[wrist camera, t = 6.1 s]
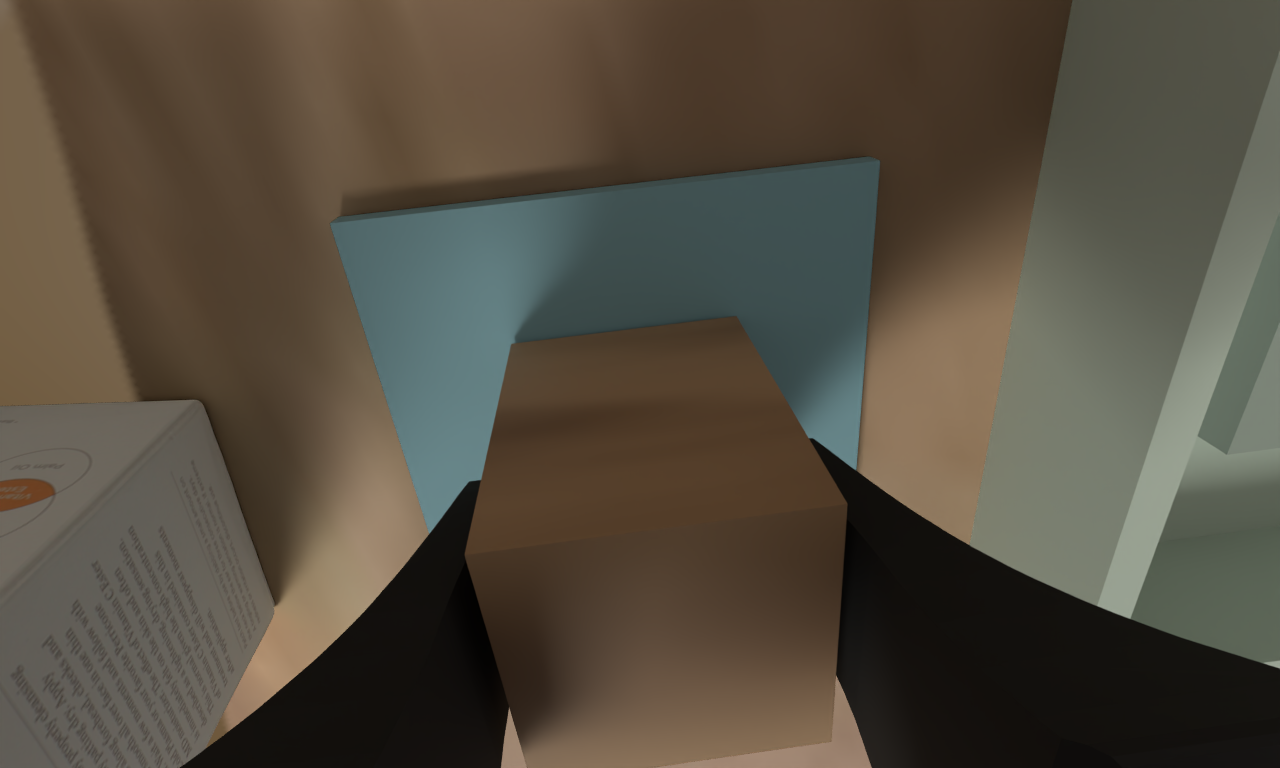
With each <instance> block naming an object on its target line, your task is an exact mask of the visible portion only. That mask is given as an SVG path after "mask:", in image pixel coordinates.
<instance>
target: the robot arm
mask: <svg viewBox="0 0 1280 768" xmlns="http://www.w3.org/2000/svg"><path fill="white" fill-rule="evenodd" d="M809 440H810V441H811V443H812V445H813V446H814V448H815V450H816V451H817V453H818V455H819V456H820V458H821V460H822V462H823V463H824V465H825V467H826V468H827V470H828V472H829V473H830V475H831V477H832V478H833V480H834V482H835V484H836V485H837V487H838V489H839V490H840V492H841V494H842V495H843V497H844V499H845V500H846V502H847V504H848V505H847V520H846V535H845V549H844V564H843V579H842V594H841V608H840V623H839V638H838V652H837V667H836V675H837V678H838V680H839V682H840V684H841V686H842V689H843V691H844V693H845V695H846V698H847V700H848V703H849V705H850V708H851V710H852V713H853V715H854V717H855V720H856V723H857V726H858V729H859V732H860V735H861V737H862V740H863V743H864V746H865V749H866V752H867V755H868V758H869V761H870V764H871V766H872V768H1280V668H1277V667H1274V666H1270V665H1267V664H1264V663H1261V662H1258V661H1254V660H1251V659H1248V658H1245V657H1242V656H1239V655H1235V654H1232V653H1229V652H1226V651H1223V650H1219V649H1216V648H1213V647H1210V646H1207V645H1203V644H1200V643H1197V642H1194V641H1191V640H1187V639H1184V638H1181V637H1178V636H1176V635H1173V634H1170V633H1167V632H1164V631H1162V630H1159V629H1156V628H1154V627H1151V626H1148V625H1145V624H1143V623H1140V622H1137V621H1135V620H1132V619H1129V618H1127V617H1124V616H1121V615H1118V614H1116V613H1113V612H1111V611H1108V610H1106V609H1103V608H1101V607H1098V606H1096V605H1093V604H1091V603H1089V602H1086V601H1084V600H1081V599H1079V598H1077V597H1074V596H1072V595H1070V594H1068V593H1065V592H1063V591H1061V590H1059V589H1056V588H1054V587H1052V586H1050V585H1047V584H1045V583H1043V582H1041V581H1039V580H1036V579H1034V578H1032V577H1030V576H1028V575H1026V574H1024V573H1022V572H1020V571H1017V570H1015V569H1013V568H1011V567H1009V566H1007V565H1005V564H1004V563H1002V562H1000V561H998V560H996V559H994V558H992V557H990V556H989V555H987V554H985V553H983V552H981V551H979V550H977V549H975V548H973V547H972V546H970V545H968V544H966V543H964V542H963V541H961V540H959V539H957V538H956V537H954V536H952V535H951V534H949V533H947V532H946V531H944V530H942V529H941V528H939V527H938V526H936V525H934V524H933V523H931V522H930V521H928V520H926V519H925V518H923V517H922V516H920V515H918V514H917V513H915V512H914V511H912V510H911V509H909V508H908V507H906V506H905V505H903V504H902V503H900V502H899V501H897V500H896V499H895V498H893V497H892V496H890V495H889V494H887V493H886V492H885V491H883V490H882V489H880V488H879V487H878V486H876V485H875V484H873V483H872V482H871V481H869V480H868V479H867V478H865V477H864V476H863V475H861V474H860V473H859V472H857V471H856V470H855V469H853V468H852V467H851V466H849V465H848V464H847V463H845V462H844V461H843V460H841V459H840V458H839V457H837V456H836V455H835V454H834V453H832V452H831V451H830V450H828V449H827V448H826V447H824V446H823V445H822V444H820V443H819V442H818V441H816V440H815V439H813V438H809ZM480 483H481V480H477V481H469V482H468V483H467V485H466V486H465V487H464V488H463V490H462V491H461V492H460V493H459V495H458V496H457V497H456V499H455V500H454V501H453V503H452V504H451V506H450V507H449V508H448V510H447V511H446V512H445V514H444V515H443V516H442V518H441V519H440V520H439V522H438V523H437V524H436V526H435V527H434V528H433V530H432V531H431V532H430V534H429V535H428V536H427V538H426V539H425V540H424V541H423V543H422V544H421V545H420V547H419V548H418V549H417V550H416V552H415V553H414V554H413V555H412V557H411V558H410V559H409V561H408V562H407V563H406V564H405V566H404V567H403V568H402V569H401V570H400V572H399V573H398V574H397V575H396V576H395V577H394V579H393V580H392V581H391V582H390V583H389V584H388V585H387V587H386V588H385V589H384V590H383V591H382V592H381V593H380V595H379V596H378V597H377V598H376V599H375V600H374V601H373V603H372V604H371V605H370V606H369V607H368V608H367V609H366V610H365V611H364V613H363V614H362V615H361V616H360V617H359V618H358V619H357V620H356V621H355V622H354V623H353V624H352V625H351V626H350V627H349V628H348V629H347V630H346V631H345V632H344V633H343V634H342V635H341V636H340V637H339V638H338V639H337V640H335V641H334V642H333V643H332V644H331V645H330V646H329V647H328V648H327V649H326V650H325V651H324V652H323V653H322V654H321V655H320V656H319V657H318V658H317V659H315V660H314V661H313V662H312V663H311V664H310V665H309V666H307V667H306V668H305V669H304V670H303V671H302V672H300V673H299V674H298V675H297V676H296V677H295V678H293V679H292V680H291V681H290V682H289V683H288V684H286V685H285V686H284V687H283V688H282V689H281V690H279V691H278V692H277V693H276V694H275V695H274V696H272V697H271V698H270V699H269V700H268V701H267V702H265V703H264V704H263V705H262V706H261V707H259V708H258V709H257V710H256V711H254V712H253V713H252V714H251V715H249V716H248V717H247V718H246V719H244V720H243V721H242V722H240V723H239V724H238V725H236V726H235V727H234V728H233V729H231V730H230V731H229V732H227V733H226V734H225V735H224V736H222V737H221V738H220V739H218V740H217V741H216V742H214V743H213V744H211V745H210V746H209V747H207V748H206V749H205V750H203V751H202V752H201V753H199V754H198V755H196V756H195V757H194V758H192V759H191V760H190V761H188V762H187V763H186V764H184V765H183V766H181V767H180V768H501V761H502V753H503V744H504V736H505V730H506V723H507V717H508V710H509V704H508V701H507V698H506V694H505V691H504V687H503V684H502V681H501V677H500V674H499V670H498V667H497V664H496V660H495V657H494V653H493V650H492V647H491V643H490V640H489V637H488V633H487V630H486V626H485V623H484V620H483V616H482V613H481V609H480V606H479V603H478V599H477V596H476V592H475V589H474V586H473V582H472V579H471V575H470V572H469V569H468V565H467V562H466V559H465V550H466V546H467V541H468V537H469V532H470V528H471V523H472V519H473V514H474V510H475V505H476V501H477V496H478V492H479V487H480Z"/></svg>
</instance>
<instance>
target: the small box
mask: <svg viewBox="0 0 1280 768" xmlns="http://www.w3.org/2000/svg"><path fill="white" fill-rule="evenodd" d="M274 605H275V603H274V600H273V598H272V595H271V593H270V590H269V587H268V584H267V581H266V579H265V576H264V573H263V571H262V568H261V565H260V562H259V559H258V556H257V553H256V550H255V548H254V545H253V542H252V540H251V537H250V534H249V531H248V529H247V526H246V523H245V520H244V517H243V514H242V511H241V508H240V505H239V502H238V500H237V497H236V494H235V491H234V487H233V484H232V481H231V479H230V476H229V473H228V471H227V468H226V465H225V462H224V459H223V456H222V453H221V451H220V448H219V445H218V443H217V440H216V438H215V435H214V432H213V429H212V427H211V424H210V421H209V418H208V416H207V413H206V411H205V408H204V406H203V404H202V403H201V402H200V401H199V400H174V401H145V402H112V403H81V404H55V405H54V404H52V405H24V406H0V768H180V767H181V766H183V765H184V764H186V763H187V762H188V761H190V760H191V759H192V758H194V757H195V756H196V755H198V754H199V753H201V752H202V751H203V750H205V748H206V746H207V744H208V742H209V740H210V738H211V736H212V734H213V732H214V730H215V728H216V726H217V724H218V722H219V720H220V719H221V717H222V715H223V713H224V711H225V709H226V707H227V705H228V703H229V701H230V699H231V697H232V695H233V694H234V692H235V690H236V688H237V686H238V684H239V682H240V680H241V678H242V676H243V674H244V672H245V670H246V668H247V666H248V664H249V663H250V661H251V659H252V657H253V655H254V653H255V651H256V649H257V647H258V645H259V644H260V642H261V640H262V638H263V636H264V634H265V632H266V630H267V628H268V626H269V624H270V622H271V620H272V618H273V615H274Z"/></svg>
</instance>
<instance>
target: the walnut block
mask: <svg viewBox="0 0 1280 768" xmlns="http://www.w3.org/2000/svg"><path fill="white" fill-rule="evenodd" d="M847 505H848V504H847V502H846V500H845V499H844V497H843V495H842V494H841V492H840V490H839V489H838V487H837V485H836V484H835V482H834V480H833V478H832V477H831V475H830V473H829V472H828V470H827V468H826V467H825V465H824V463H823V462H822V460H821V458H820V456H819V455H818V453H817V451H816V450H815V448H814V446H813V445H812V443H811V441H810V440H809V438H808V436H807V434H806V433H805V431H804V429H803V428H802V426H801V424H800V423H799V421H798V419H797V418H796V416H795V414H794V413H793V411H792V409H791V407H790V406H789V404H788V402H787V401H786V399H785V397H784V396H783V394H782V392H781V391H780V389H779V387H778V385H777V384H776V382H775V380H774V379H773V377H772V375H771V374H770V372H769V370H768V369H767V367H766V365H765V363H764V362H763V360H762V358H761V357H760V355H759V353H758V352H757V350H756V348H755V347H754V345H753V343H752V342H751V340H750V338H749V336H748V335H747V333H746V331H745V330H744V328H743V326H742V325H741V323H740V321H739V320H738V318H737V316H733V317H725V318H717V319H709V320H701V321H693V322H684V323H676V324H668V325H660V326H652V327H644V328H636V329H628V330H620V331H612V332H603V333H595V334H587V335H579V336H571V337H563V338H555V339H547V340H539V341H530V342H522V343H514V344H511V347H510V352H509V356H508V361H507V365H506V370H505V374H504V379H503V383H502V388H501V392H500V397H499V401H498V406H497V410H496V415H495V419H494V424H493V428H492V433H491V437H490V442H489V446H488V451H487V455H486V460H485V465H484V469H483V474H482V478H481V483H480V487H479V492H478V496H477V501H476V505H475V510H474V514H473V519H472V523H471V528H470V532H469V537H468V541H467V546H466V550H465V559H466V562H467V565H468V569H469V572H470V575H471V579H472V582H473V586H474V589H475V592H476V596H477V599H478V603H479V606H480V609H481V613H482V616H483V620H484V623H485V626H486V630H487V633H488V637H489V640H490V643H491V647H492V650H493V653H494V657H495V660H496V664H497V667H498V670H499V674H500V677H501V681H502V684H503V687H504V691H505V694H506V698H507V701H508V704H509V708H510V711H511V715H512V718H513V721H514V725H515V728H516V731H517V735H518V738H519V742H520V745H521V748H522V752H523V755H524V759H525V762H526V765H527V768H653V767H660V766H667V765H674V764H681V763H688V762H695V761H702V760H709V759H715V758H722V757H729V756H736V755H743V754H750V753H757V752H764V751H771V750H778V749H784V748H791V747H798V746H805V745H812V744H819V743H826V742H831V741H832V726H833V711H834V697H835V682H836V667H837V652H838V638H839V623H840V608H841V594H842V579H843V564H844V549H845V535H846V520H847Z"/></svg>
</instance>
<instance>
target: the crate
mask: <svg viewBox="0 0 1280 768" xmlns="http://www.w3.org/2000/svg"><path fill="white" fill-rule="evenodd" d="M970 546H972V547H973V548H975V549H977V550H979V551H981V552H983V553H985V554H987V555H989V556H990V557H992V558H994V559H996V560H998V561H1000V562H1002V563H1004V564H1005V565H1007V566H1009V567H1011V568H1013V569H1015V570H1017V571H1020V572H1022V573H1024V574H1026V575H1028V576H1030V577H1032V578H1034V579H1036V580H1039V581H1041V582H1043V583H1045V584H1047V585H1050V586H1052V587H1054V588H1056V589H1059V590H1061V591H1063V592H1065V593H1068V594H1070V595H1072V596H1074V597H1077V598H1079V599H1081V600H1084V601H1086V602H1089V603H1091V604H1093V605H1096V606H1098V607H1101V608H1103V609H1106V610H1108V611H1111V612H1113V613H1116V614H1118V615H1121V616H1124V617H1127V618H1129V619H1132V620H1135V621H1137V622H1140V623H1143V624H1145V625H1148V626H1151V627H1154V628H1156V629H1159V630H1162V631H1164V632H1167V633H1170V634H1173V635H1176V636H1178V637H1181V638H1184V639H1187V640H1191V641H1194V642H1197V643H1200V644H1203V645H1207V646H1210V647H1213V648H1216V649H1219V650H1223V651H1226V652H1229V653H1232V654H1235V655H1239V656H1242V657H1245V658H1248V659H1251V660H1254V661H1258V662H1261V663H1264V664H1267V665H1270V666H1274V667H1277V668H1280V0H1072V5H1071V11H1070V16H1069V21H1068V27H1067V32H1066V37H1065V43H1064V48H1063V53H1062V58H1061V64H1060V69H1059V74H1058V80H1057V85H1056V90H1055V95H1054V101H1053V106H1052V111H1051V117H1050V122H1049V127H1048V133H1047V138H1046V143H1045V148H1044V154H1043V159H1042V164H1041V170H1040V175H1039V180H1038V186H1037V191H1036V196H1035V201H1034V207H1033V212H1032V217H1031V223H1030V228H1029V233H1028V239H1027V244H1026V249H1025V254H1024V260H1023V265H1022V270H1021V276H1020V281H1019V286H1018V292H1017V297H1016V302H1015V307H1014V313H1013V318H1012V323H1011V329H1010V334H1009V339H1008V345H1007V350H1006V355H1005V360H1004V366H1003V371H1002V376H1001V382H1000V387H999V392H998V398H997V403H996V408H995V413H994V419H993V424H992V429H991V435H990V440H989V445H988V451H987V456H986V461H985V466H984V472H983V477H982V482H981V488H980V493H979V498H978V504H977V509H976V514H975V519H974V525H973V530H972V535H971V541H970Z"/></svg>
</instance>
